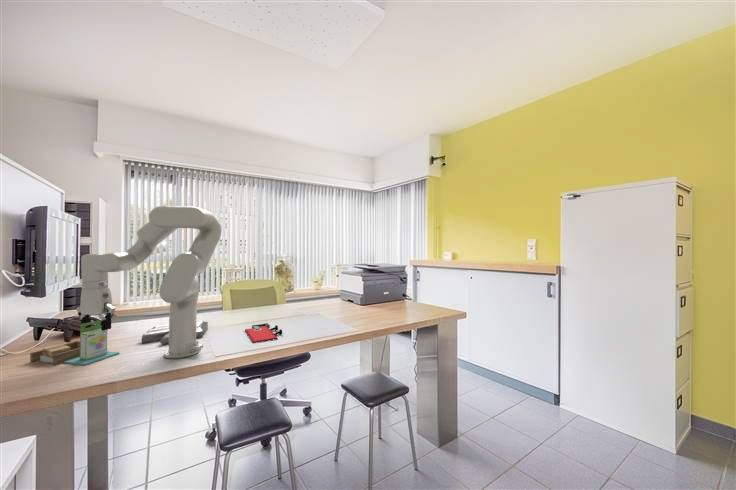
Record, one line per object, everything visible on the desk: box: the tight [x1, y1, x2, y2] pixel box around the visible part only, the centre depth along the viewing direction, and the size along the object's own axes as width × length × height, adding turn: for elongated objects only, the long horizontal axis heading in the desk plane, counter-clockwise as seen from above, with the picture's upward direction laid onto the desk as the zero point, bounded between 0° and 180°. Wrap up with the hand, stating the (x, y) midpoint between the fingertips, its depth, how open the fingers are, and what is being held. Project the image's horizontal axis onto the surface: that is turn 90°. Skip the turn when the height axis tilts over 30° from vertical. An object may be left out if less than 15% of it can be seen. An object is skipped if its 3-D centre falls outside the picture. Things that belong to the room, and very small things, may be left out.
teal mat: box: [63, 350, 120, 367], centre depth 112 cm, size 10×12×1 cm
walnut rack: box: [29, 340, 80, 366], centre depth 114 cm, size 12×15×4 cm
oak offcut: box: [42, 343, 71, 358], centre depth 111 cm, size 8×5×2 cm
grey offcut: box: [40, 355, 53, 364], centre depth 111 cm, size 8×6×2 cm
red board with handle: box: [244, 322, 283, 344], centre depth 149 cm, size 30×3×15 cm
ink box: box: [79, 319, 108, 360], centre depth 112 cm, size 7×4×13 cm, turn 165°
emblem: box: [141, 320, 209, 345], centre depth 142 cm, size 28×5×28 cm
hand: (96, 329), depth 113 cm, fingers open, 9 cm apart
